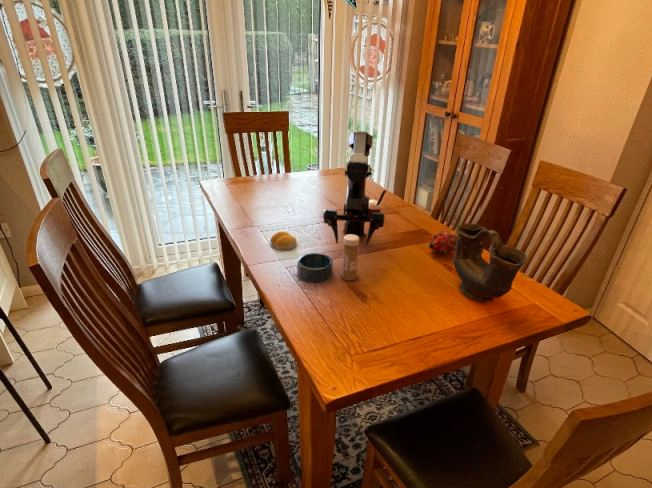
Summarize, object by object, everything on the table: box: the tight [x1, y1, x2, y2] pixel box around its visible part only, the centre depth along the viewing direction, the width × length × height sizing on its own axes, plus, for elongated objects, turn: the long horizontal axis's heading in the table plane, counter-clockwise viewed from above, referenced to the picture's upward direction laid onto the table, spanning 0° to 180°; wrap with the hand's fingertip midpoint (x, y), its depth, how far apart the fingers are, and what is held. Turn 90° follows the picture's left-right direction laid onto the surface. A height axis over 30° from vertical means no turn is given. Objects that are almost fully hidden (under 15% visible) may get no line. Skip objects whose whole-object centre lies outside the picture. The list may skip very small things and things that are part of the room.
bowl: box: [296, 252, 334, 284], centre depth 129 cm, size 10×10×4 cm
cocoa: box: [369, 189, 387, 216], centre depth 170 cm, size 10×6×12 cm, turn 19°
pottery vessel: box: [452, 222, 528, 304], centre depth 120 cm, size 25×11×20 cm, turn 23°
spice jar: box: [341, 234, 360, 281], centre depth 126 cm, size 5×5×14 cm
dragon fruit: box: [428, 230, 457, 256], centre depth 145 cm, size 8×8×12 cm
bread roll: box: [270, 230, 298, 250], centre depth 145 cm, size 8×9×4 cm
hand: (351, 244), depth 130 cm, fingers open, 9 cm apart
